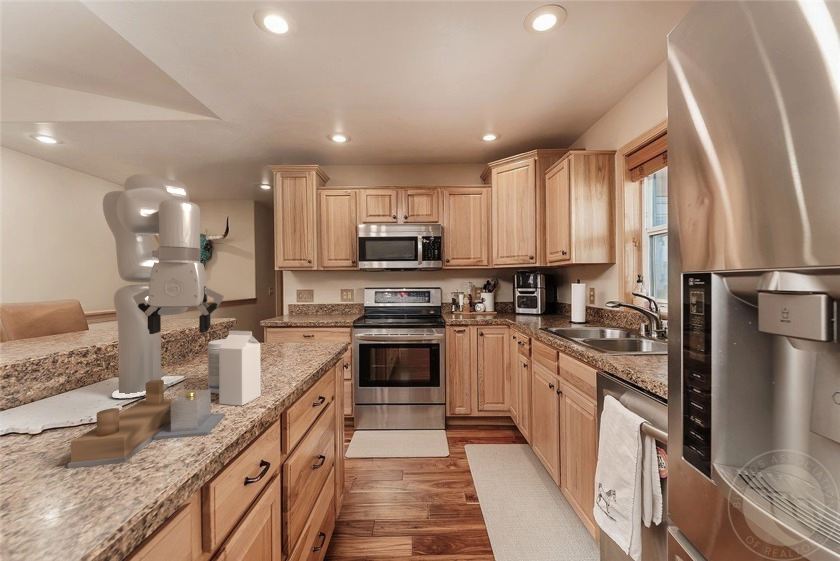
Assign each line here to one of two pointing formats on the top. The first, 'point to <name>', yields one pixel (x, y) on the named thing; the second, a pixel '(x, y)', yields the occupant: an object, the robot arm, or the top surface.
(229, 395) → the milk carton
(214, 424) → the mat
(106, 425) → the body
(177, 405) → the grey block with knob
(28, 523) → the top surface
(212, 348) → the supplement tub
